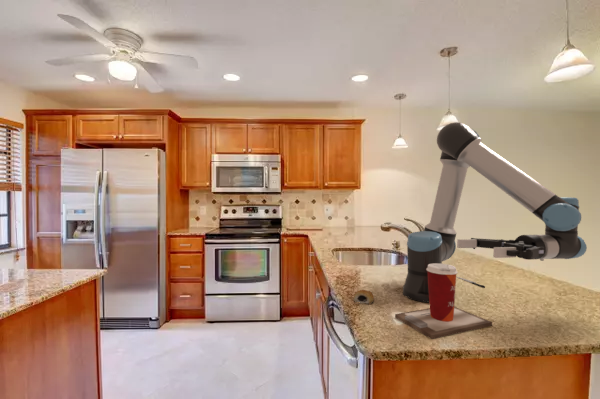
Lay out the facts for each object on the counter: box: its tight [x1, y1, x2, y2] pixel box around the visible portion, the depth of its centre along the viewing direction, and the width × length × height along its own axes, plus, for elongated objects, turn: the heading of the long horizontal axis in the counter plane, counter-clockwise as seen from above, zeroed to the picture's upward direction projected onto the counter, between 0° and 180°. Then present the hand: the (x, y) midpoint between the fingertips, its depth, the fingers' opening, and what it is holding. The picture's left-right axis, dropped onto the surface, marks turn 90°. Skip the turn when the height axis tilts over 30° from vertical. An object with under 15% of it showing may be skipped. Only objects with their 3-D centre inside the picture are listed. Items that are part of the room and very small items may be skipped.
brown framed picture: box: [394, 306, 493, 340], centre depth 81 cm, size 14×22×2 cm, turn 110°
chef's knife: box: [456, 276, 486, 289], centre depth 122 cm, size 19×1×3 cm
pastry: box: [352, 289, 375, 305], centre depth 99 cm, size 9×7×4 cm
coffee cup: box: [426, 263, 458, 321], centre depth 81 cm, size 8×8×15 cm
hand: (474, 247), depth 82 cm, fingers open, 13 cm apart
